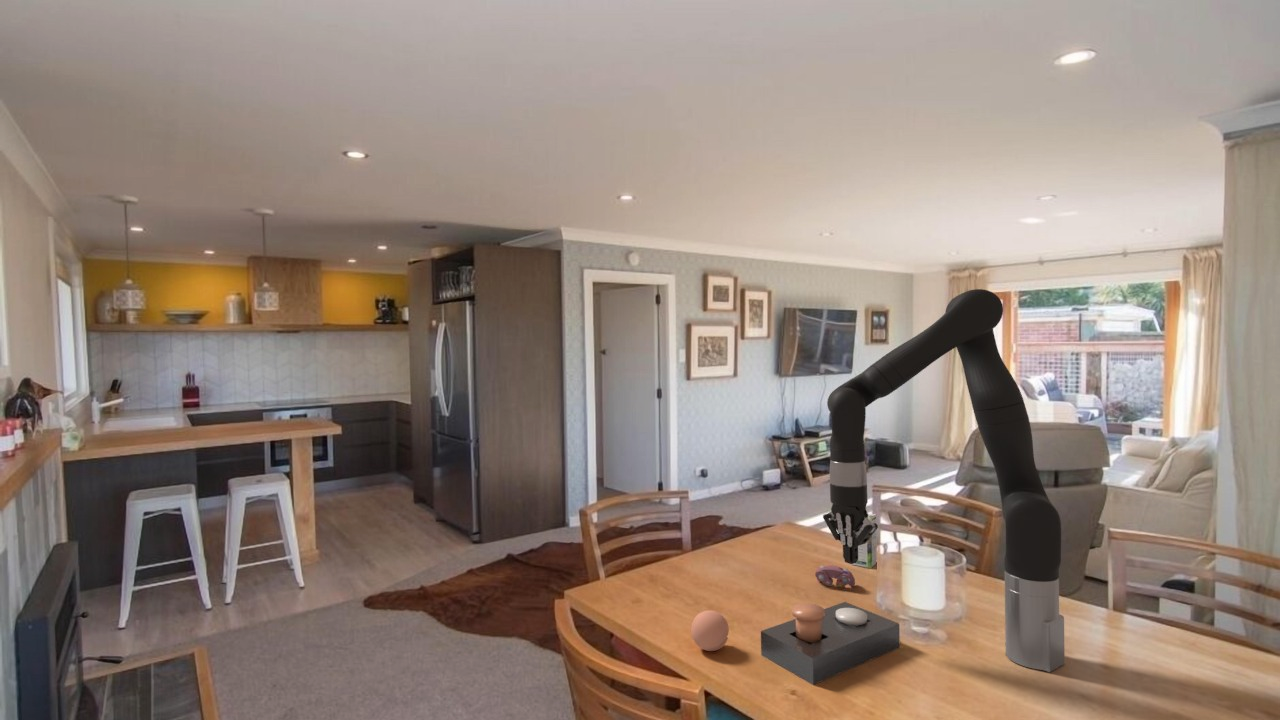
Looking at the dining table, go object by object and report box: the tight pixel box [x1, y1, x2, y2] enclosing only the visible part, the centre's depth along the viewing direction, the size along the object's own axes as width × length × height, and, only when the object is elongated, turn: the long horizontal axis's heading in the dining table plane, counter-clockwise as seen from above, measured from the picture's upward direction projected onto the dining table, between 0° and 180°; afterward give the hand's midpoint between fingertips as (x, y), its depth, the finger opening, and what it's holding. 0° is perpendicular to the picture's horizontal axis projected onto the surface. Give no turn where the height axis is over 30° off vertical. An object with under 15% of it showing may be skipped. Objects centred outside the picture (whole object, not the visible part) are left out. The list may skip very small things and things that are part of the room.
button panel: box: [760, 601, 901, 686], centre depth 130 cm, size 14×26×5 cm, turn 122°
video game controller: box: [814, 565, 856, 589], centre depth 165 cm, size 10×5×7 cm, turn 62°
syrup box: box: [851, 513, 878, 569], centre depth 182 cm, size 6×6×14 cm
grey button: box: [836, 608, 867, 628], centre depth 134 cm, size 6×6×6 cm
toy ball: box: [690, 609, 730, 652], centre depth 132 cm, size 8×8×8 cm
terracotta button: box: [791, 602, 825, 643], centre depth 127 cm, size 6×6×6 cm
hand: (850, 562), depth 133 cm, fingers closed
